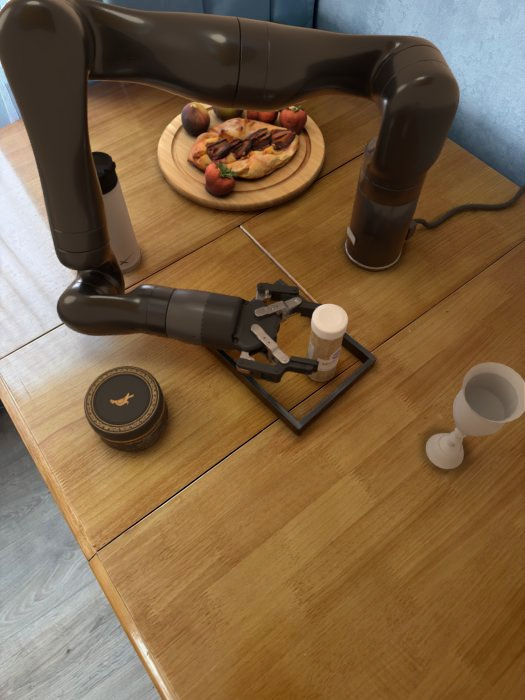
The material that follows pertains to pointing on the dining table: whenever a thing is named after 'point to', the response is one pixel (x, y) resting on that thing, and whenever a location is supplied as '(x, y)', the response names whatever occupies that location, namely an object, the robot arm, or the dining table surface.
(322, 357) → the sprinkles bottle
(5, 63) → the robot arm
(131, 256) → the travel mug
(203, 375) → the dining table surface
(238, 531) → the dining table surface
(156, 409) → the jar
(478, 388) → the chalice
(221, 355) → the picture frame
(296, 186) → the wooden plate
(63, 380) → the dining table surface
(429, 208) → the dining table surface
